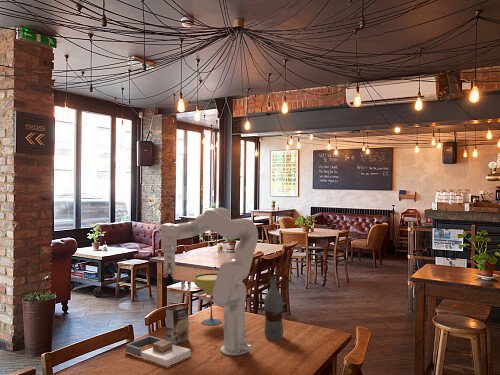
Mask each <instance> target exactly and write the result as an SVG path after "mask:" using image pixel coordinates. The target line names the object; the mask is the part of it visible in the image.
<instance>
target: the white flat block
mask: <svg viewBox="0 0 500 375" xmlns="http://www.w3.org/2000/svg"><path fill="white" fill-rule="evenodd" d="M191 351H192V350H191V348H187V347H182V346H180V345H178V344H176V345H173V349H171V350H169V351H167V352H165V353H159V352H156V351H153V347H152V348H149V349H147V350H144V351H142V352H141V357H143V358H146V359H149V360H152V361H154V362H157V363H159V364H162V365H164V366H169V367H171V366H170V365H172V364H174V365H175V363H176V364H178V363H179V361H180V362H182V361H184V360H186V359H188V358H190V357H191V354H192V353H191ZM185 358H186V359H185ZM183 359H184V360H183ZM181 360H182V361H181ZM177 362H178V363H177ZM164 366H163V367H164ZM172 366H173V365H172Z"/></svg>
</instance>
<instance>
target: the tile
mask: <svg viewBox="0 0 500 375" xmlns="http://www.w3.org/2000/svg"><path fill="white" fill-rule="evenodd" d="M171 349H173V344H172V342H170V341H166V339H163V340H160V341H158V342H155V343H153V351H156V352H159V353H165V352H167V351H169V350H171Z"/></svg>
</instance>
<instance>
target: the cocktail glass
mask: <svg viewBox="0 0 500 375" xmlns="http://www.w3.org/2000/svg"><path fill="white" fill-rule="evenodd" d="M217 274H218V273H204V274H203V273H202V274H199V275H196V276H195V277H194V281H193V282H194V285H195V286H196V287H197V288H198V289H200V290H202V291H205V292H206V293H207V294H208V295H209V296H210V316H209V318H207V319H203V320H202V321H201V324H202V325H204V326H209V327H210V326H218V325H220V324H221V323H222V320H221V319H218V318H214V317H213V289H214V285H215V282H216V278H217Z"/></svg>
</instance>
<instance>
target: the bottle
mask: <svg viewBox="0 0 500 375" xmlns="http://www.w3.org/2000/svg"><path fill="white" fill-rule="evenodd" d="M283 300H284V299H283V296H282V294H281V293H280V291H279V290H278V288H277V276H275V275H271V276H270V287H269V289H268V291H267V292H266V294H265V296H264V302H263V306H264V318H265V323H264V329H263V330H264V336H265V339H266V340H268V341H280V340H282V339H283V336H284V325H283V309H284V308H283V307H284V301H283Z"/></svg>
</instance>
